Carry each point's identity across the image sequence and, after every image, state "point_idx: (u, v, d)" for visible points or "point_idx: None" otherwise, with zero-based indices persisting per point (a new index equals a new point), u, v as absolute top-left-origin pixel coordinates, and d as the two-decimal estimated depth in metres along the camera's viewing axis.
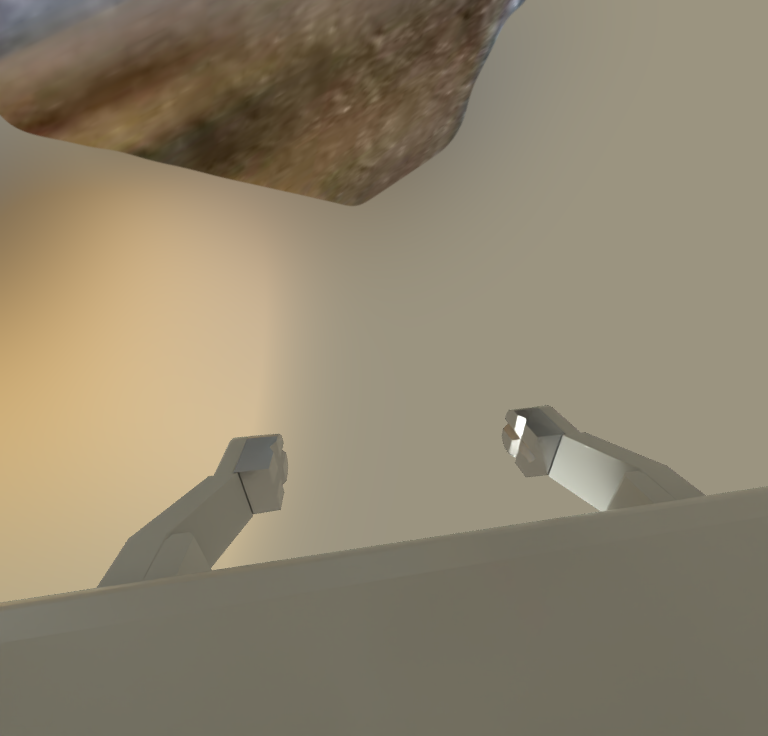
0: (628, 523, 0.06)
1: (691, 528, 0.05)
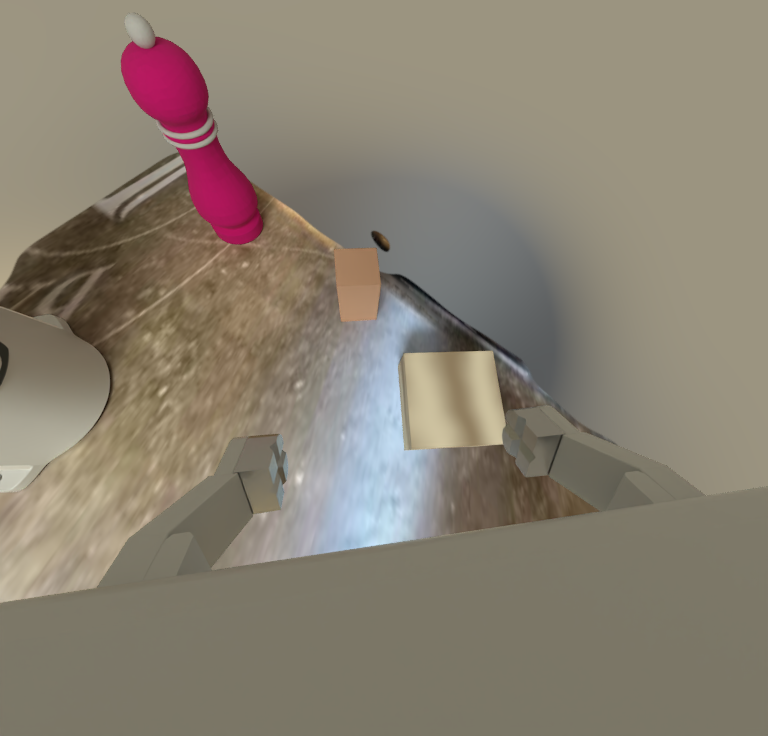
0: (628, 523, 0.06)
1: (691, 528, 0.05)
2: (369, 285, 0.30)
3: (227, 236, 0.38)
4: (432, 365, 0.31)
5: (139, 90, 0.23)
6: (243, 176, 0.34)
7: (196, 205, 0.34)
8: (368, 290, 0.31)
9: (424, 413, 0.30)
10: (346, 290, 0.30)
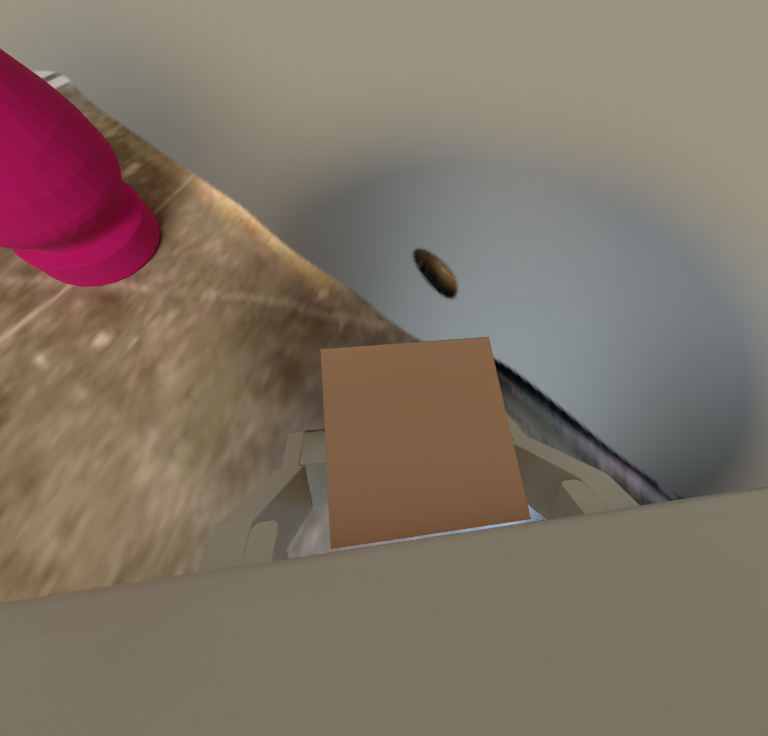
0: (628, 523, 0.06)
1: (691, 528, 0.05)
2: (479, 524, 0.07)
3: (49, 269, 0.14)
4: None
5: None
6: (37, 90, 0.11)
7: None
8: None
9: None
10: None
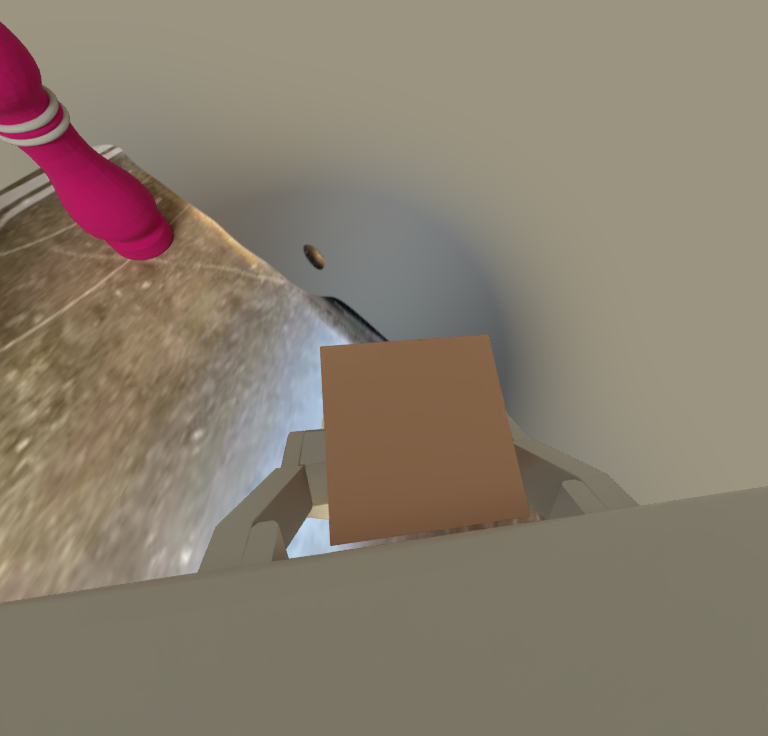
0: (628, 523, 0.06)
1: (691, 528, 0.05)
2: (479, 521, 0.07)
3: (122, 251, 0.31)
4: None
5: None
6: (129, 180, 0.28)
7: (70, 215, 0.27)
8: None
9: None
10: None
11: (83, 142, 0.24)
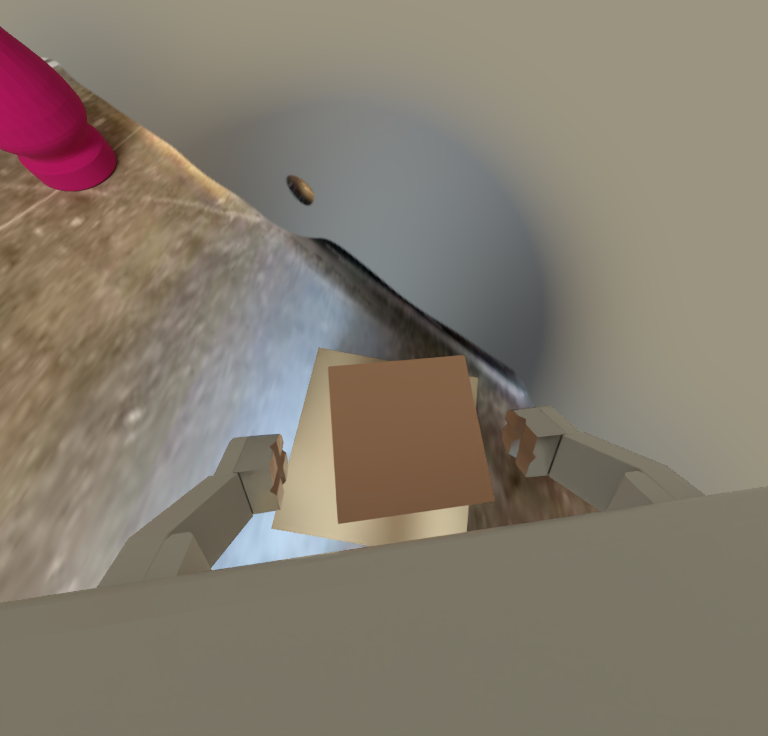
0: (628, 523, 0.06)
1: (691, 528, 0.05)
2: (455, 505, 0.08)
3: (43, 175, 0.24)
4: None
5: None
6: (36, 61, 0.20)
7: None
8: None
9: (320, 463, 0.16)
10: None
11: None
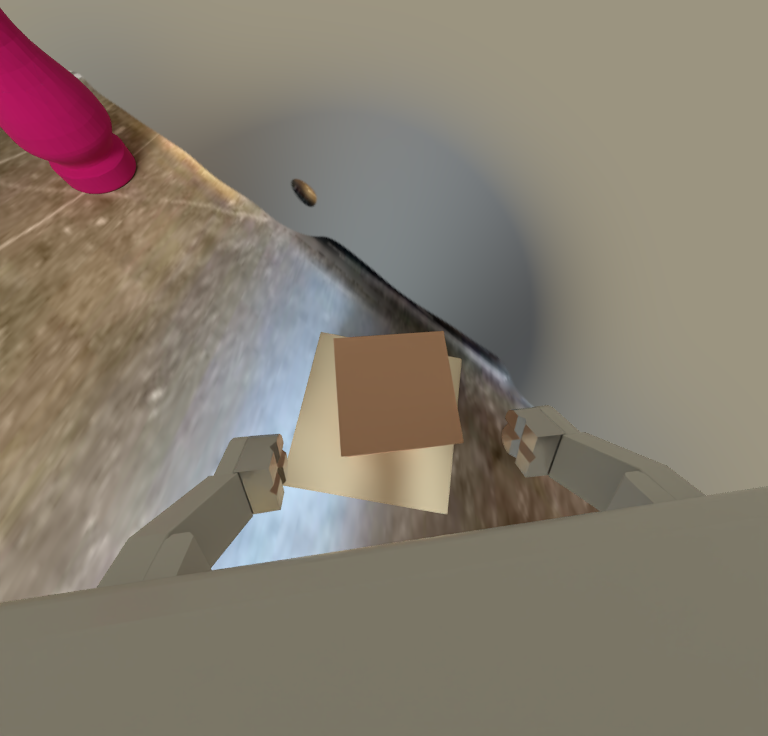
0: (628, 523, 0.06)
1: (691, 528, 0.05)
2: (432, 446, 0.11)
3: (72, 179, 0.26)
4: None
5: None
6: (70, 79, 0.22)
7: None
8: None
9: (322, 431, 0.18)
10: None
11: None
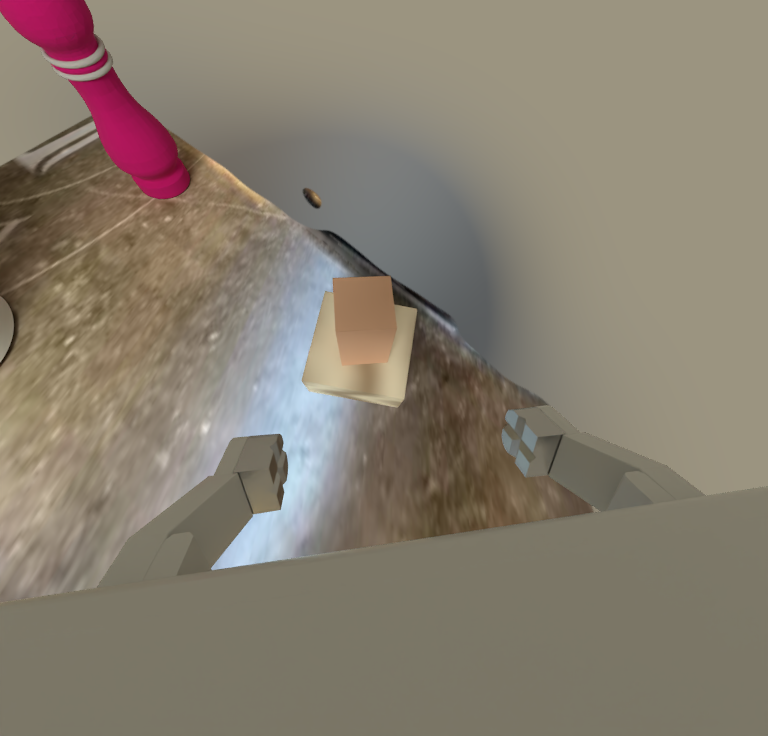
0: (628, 523, 0.06)
1: (691, 528, 0.05)
2: (381, 330, 0.22)
3: (148, 189, 0.37)
4: None
5: (4, 5, 0.22)
6: (156, 122, 0.33)
7: (107, 151, 0.33)
8: (379, 334, 0.22)
9: (326, 351, 0.29)
10: (349, 335, 0.22)
11: (121, 83, 0.29)
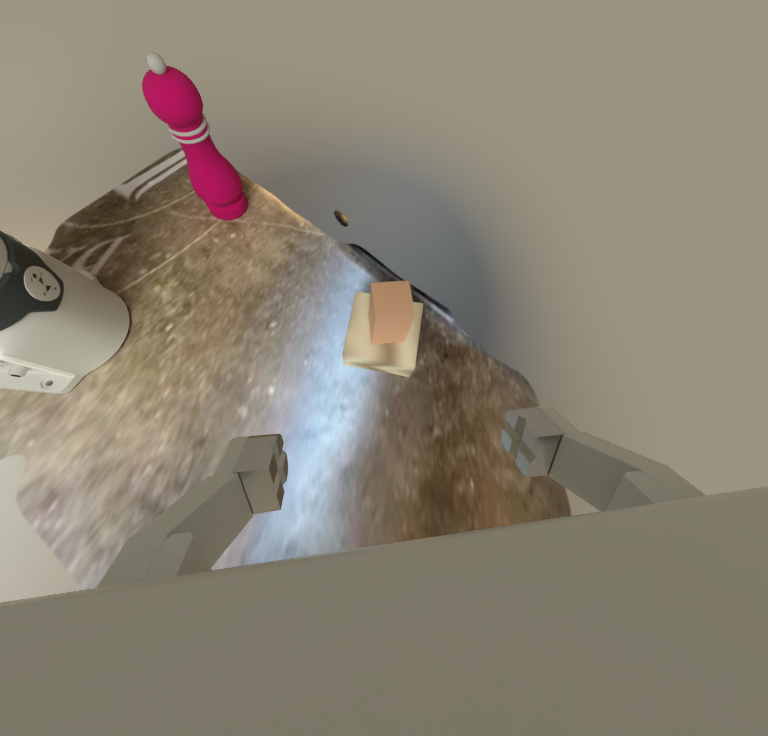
0: (628, 523, 0.06)
1: (691, 528, 0.05)
2: (404, 316, 0.33)
3: (219, 213, 0.48)
4: None
5: (155, 102, 0.33)
6: (230, 165, 0.44)
7: (195, 187, 0.44)
8: (402, 319, 0.34)
9: (359, 333, 0.40)
10: (383, 320, 0.33)
11: None
